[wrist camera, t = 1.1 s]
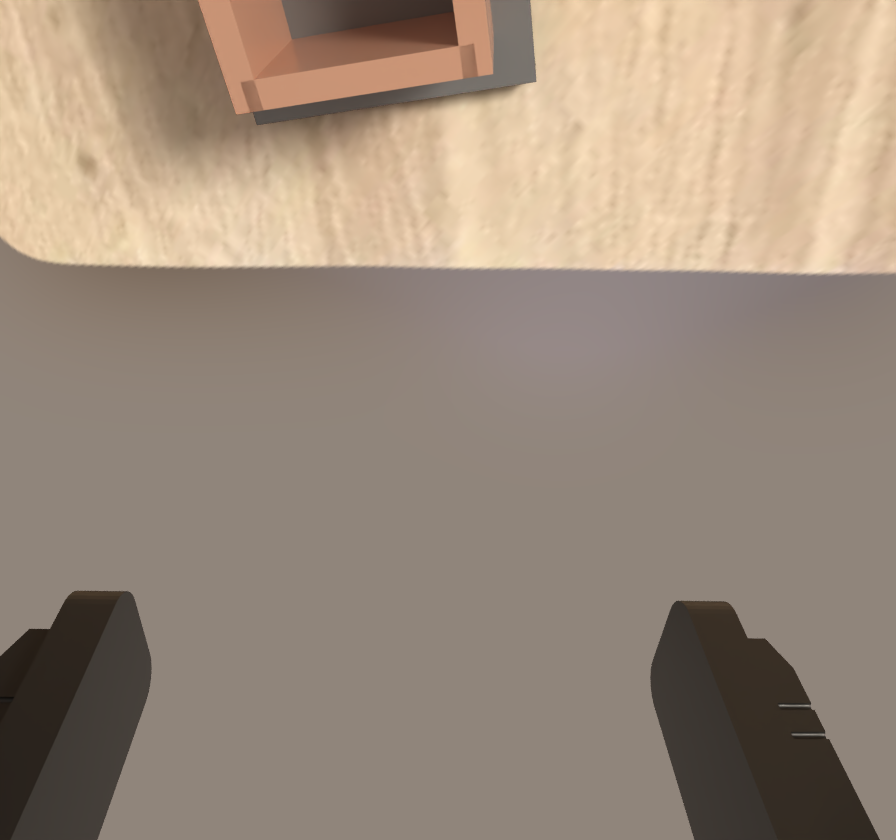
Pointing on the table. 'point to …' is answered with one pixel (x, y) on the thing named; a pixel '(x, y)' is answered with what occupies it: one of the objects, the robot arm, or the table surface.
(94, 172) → the table surface
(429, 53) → the box
